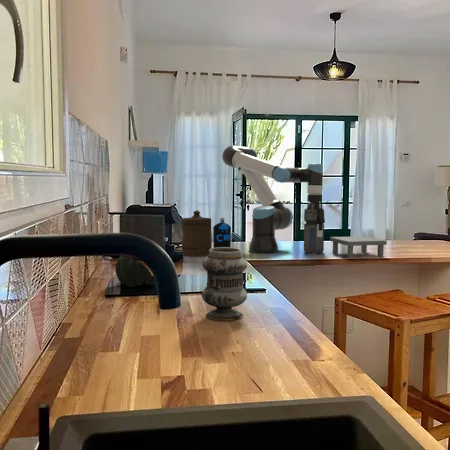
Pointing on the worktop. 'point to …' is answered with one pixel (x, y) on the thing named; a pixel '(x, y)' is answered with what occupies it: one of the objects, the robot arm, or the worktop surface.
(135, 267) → the squash
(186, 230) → the wooden container
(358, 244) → the stool
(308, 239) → the beverage bottle
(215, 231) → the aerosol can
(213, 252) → the apothecary jar
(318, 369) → the worktop surface
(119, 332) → the worktop surface
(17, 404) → the worktop surface
